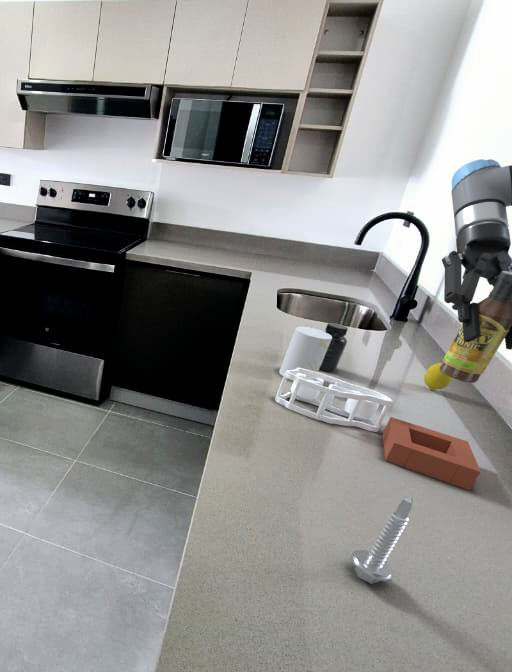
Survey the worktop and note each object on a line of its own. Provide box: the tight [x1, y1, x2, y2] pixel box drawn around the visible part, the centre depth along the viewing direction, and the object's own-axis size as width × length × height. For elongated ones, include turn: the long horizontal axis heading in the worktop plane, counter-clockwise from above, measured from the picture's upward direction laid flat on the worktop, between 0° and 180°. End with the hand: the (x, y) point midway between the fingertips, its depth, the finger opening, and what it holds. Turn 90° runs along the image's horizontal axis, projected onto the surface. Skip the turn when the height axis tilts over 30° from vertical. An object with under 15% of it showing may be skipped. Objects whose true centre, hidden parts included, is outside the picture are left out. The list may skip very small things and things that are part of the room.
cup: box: [279, 326, 332, 382], centre depth 124 cm, size 8×8×12 cm
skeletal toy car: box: [274, 368, 394, 433], centre depth 108 cm, size 20×11×7 cm, turn 53°
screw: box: [350, 496, 415, 585], centre depth 63 cm, size 13×5×5 cm
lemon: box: [423, 362, 453, 391], centre depth 130 cm, size 6×6×8 cm
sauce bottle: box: [439, 271, 512, 384], centre depth 90 cm, size 6×6×20 cm
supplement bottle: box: [319, 322, 349, 373], centre depth 134 cm, size 7×7×12 cm
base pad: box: [382, 416, 482, 491], centre depth 95 cm, size 13×13×4 cm
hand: (493, 342), depth 87 cm, fingers closed on sauce bottle, 6 cm apart
